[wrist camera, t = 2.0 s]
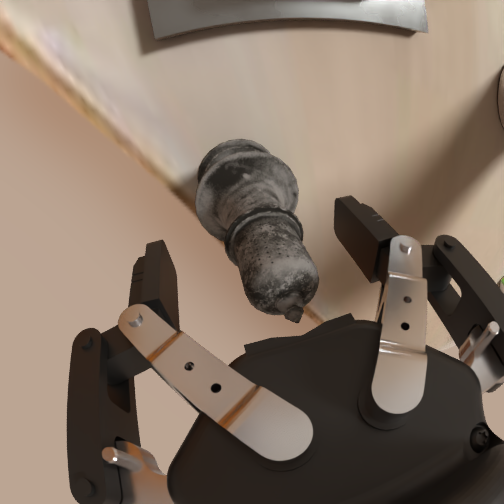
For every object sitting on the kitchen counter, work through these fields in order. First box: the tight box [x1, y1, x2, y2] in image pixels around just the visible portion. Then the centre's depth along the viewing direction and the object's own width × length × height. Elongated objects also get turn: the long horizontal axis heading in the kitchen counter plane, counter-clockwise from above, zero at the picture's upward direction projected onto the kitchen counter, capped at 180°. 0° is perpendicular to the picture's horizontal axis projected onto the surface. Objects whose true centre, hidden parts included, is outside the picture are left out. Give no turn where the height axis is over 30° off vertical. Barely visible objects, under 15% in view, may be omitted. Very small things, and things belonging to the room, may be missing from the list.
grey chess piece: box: [195, 139, 319, 323], centre depth 14 cm, size 6×6×12 cm
